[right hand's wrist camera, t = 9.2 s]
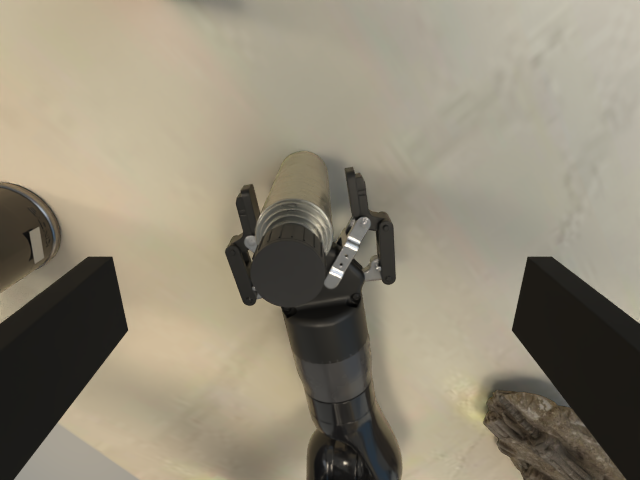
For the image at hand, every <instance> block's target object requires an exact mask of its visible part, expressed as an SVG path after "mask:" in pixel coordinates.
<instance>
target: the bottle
mask: <svg viewBox="0 0 640 480" xmlns="http://www.w3.org/2000/svg"><path fill="white" fill-rule="evenodd" d="M288 224H291V225H293V224H295V225H299V226H302V227H306V228H307V229H309V230H310V231H312V232H313V233H314V234H316V236H317V237H318V238H319V240H320V241H321V242H322V243H323V248H324V252H326V255H327V254H328V252H329V250H330V248H331V246H332V242H333V227H332V215H331V203H330V192H329V180H328V171H327V167H326V165H325V163H324V162H323V160H322V159H321V158H320V157H319V156H317V155H316V154H314V153H311V152H307V151H299V152H295V153H293V154H291V155H289V156H288V157H287V158H286V159H285V160H284V161H283V163H282V165H281V167H280V169H279V172H278V174H277V176H276V179H275V181H274V183H273V186H272V188H271V190H270V193H269V195H268V197H267V200H266V202H265V204H264V207H263V209H262V211H261V214H260V216H259V218H258V221H257V223H256V227H255V239H256V244H257V245H259V243H260V241H261V238H262V236H264V235H265V234H266V233H267V232H268V231H270V230H271V229H273V228H275V227H278V226H281V225H288Z"/></svg>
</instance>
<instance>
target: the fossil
mask: <svg viewBox="0 0 640 480" xmlns="http://www.w3.org/2000/svg"><path fill="white" fill-rule="evenodd" d="M487 406H488V408H489V411H488V413H487V415H486V417H485V419H484V421H483V423H484V424H485V426H486V427H487V428H488V429H489V430H490V431H491V432H492V433H493V434H494V435H495V436H496V437H498V438H499V441H498V442H497V445H498V448H499V450H500V451H501V452H502V453H504V454H505V455H507V456H509V457H511V460H512V461H513V463H514V464H515V466H516V467H517V469H519V470H520V471H521V474H522V477H523V479H524V480H626V479H625V477H624V476H623V475H622V473H621V472H620V471H619V469H618V468H617V467H616V466H615V464H614V463H613V462H612V460H611V459H610V458H609V456H608V455H607V454H606V452H605V451H604V450H603V449H602V447H601V446H600V445H599V443H598V442H597V441H596V439H595V438H594V437H593V436H592V434H591V433H590V432H589V430H588V429H587V428H586V426H585V425H584V424H583V422H582V421H581V420H580V419H579V417H578V416H577V415H576V413H575V412H574V411H573V409H572V408H569V407H565V406H558V405H557V404H556V403H555V402H553V401H552V400H549V399H547V398H545V397H543V396H541V395H536V394H532V393H526V392H513V391H500V390H496V392H495V393H493V397H490V398H489V399H488V401H487Z"/></svg>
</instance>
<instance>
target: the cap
mask: <svg viewBox="0 0 640 480" xmlns="http://www.w3.org/2000/svg"><path fill="white" fill-rule="evenodd" d="M252 260H253V262H252V265H251V269H250V276H251V281H252V284H253V286H254V288H255V290H256V291H257V293H258V294H259V295H260V296H261V297H262V298H263V299H265V300H266V301H268V302H270V303H272V304H274V305H277V306H281V307H297V306H301V305H304V304H306V303H308V302H310V301H311V300H312V299H314V298H315V297H316V296H317V295H318V294H319V292H320V291H321V289H322V287H323V285H324V281H325V278H326V272H325V268H326V252H324V248H323V243H322V242H321V241H320V240H319V238H318V237H317V236H316V234H314V233H313V232H312V231H310V230H309V229H307V228H306V227H302V226H299V225H295V224H293V225H291V224H288V225H281V226H278V227H275V228H273V229H271V230H270V231H268V232H267V233H266V234H265V235H264V236H262V238H261V241H260V243H259V245H257V247H256V250H255V253H254V255H253V258H252Z"/></svg>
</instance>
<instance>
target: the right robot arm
mask: <svg viewBox="0 0 640 480" xmlns="http://www.w3.org/2000/svg"><path fill="white" fill-rule="evenodd" d="M127 331H128V327H127V323H126V318H125V313H124V309H123V304H122V299H121V295H120V290H119V285H118V281H117V276H116V271H115V267H114V262H113V257H87V258H86V259H85V260H83V261H82V262H81V263H79V264H78V265H77V266H75V267H74V268H73V269H71V270H70V271H69V272H68V273H66V274H65V275H64V276H62V277H61V278H60V279H58V280H57V281H56V282H54V283H53V284H52V285H50V286H49V287H48V288H47V289H45V290H44V291H43V292H41V293H40V294H39V295H37V296H36V297H35V298H33V299H32V300H31V301H30V302H28V303H27V304H26V305H24V306H23V307H22V308H20V309H19V310H18V311H16V312H15V313H14V314H12V315H11V316H10V317H9V318H7V319H6V320H5V321H3V322H2V323H1V324H0V480H14V479H15V477H16V476H17V475H18V473H19V472H20V471H21V469H22V468H23V467H24V466H25V464H26V463H27V462H28V460H29V459H30V458H31V456H32V455H33V454H34V452H35V451H36V450H37V449H38V447H39V446H40V445H41V443H42V442H43V441H44V439H45V438H46V437H47V435H48V434H49V433H50V432H51V430H52V429H53V428H54V426H55V425H56V424H57V422H58V421H59V420H60V419H61V417H62V416H63V415H64V413H65V412H66V411H67V409H68V408H69V407H70V405H71V404H72V403H73V402H74V400H75V399H76V398H77V396H78V395H79V394H80V392H81V391H82V390H83V389H84V387H85V386H86V385H87V383H88V382H89V381H90V379H91V378H92V377H93V375H94V374H95V373H96V372H97V370H98V369H99V368H100V366H101V365H102V364H103V362H104V361H105V360H106V358H107V357H108V356H109V355H110V353H111V352H112V351H113V349H114V348H115V347H116V345H117V344H118V343H119V342H120V340H121V339H122V338H123V336H124V335H125V334H126V332H127ZM512 331H513V332H514V334H515V335H516V336H517V338H518V339H519V340H520V342H521V343H522V344H523V345H524V347H525V348H526V349H527V351H528V352H529V353H530V355H531V356H532V357H533V358H534V360H535V361H536V362H537V364H538V365H539V366H540V368H541V369H542V370H543V372H544V373H545V374H546V375H547V377H548V378H549V379H550V381H551V382H552V383H553V385H554V386H555V387H556V389H557V390H558V391H559V392H560V394H561V395H562V396H563V398H564V399H565V400H566V402H567V403H568V404H569V405H570V407H571V408H572V409H573V411H574V412H575V413H576V415H577V416H578V417H579V419H580V420H581V421H582V422H583V424H584V425H585V426H586V428H587V429H588V430H589V432H590V433H591V434H592V436H593V437H594V438H595V439H596V441H597V442H598V443H599V445H600V446H601V447H602V449H603V450H604V451H605V452H606V454H607V455H608V456H609V458H610V459H611V460H612V462H613V463H614V464H615V466H616V467H617V468H618V469H619V471H620V472H621V473H622V475H623V476H624V477H625V479H626V480H640V324H639V323H638V322H637V321H635V320H634V319H633V318H631V317H630V316H629V315H627V314H626V313H625V312H624V311H622V310H621V309H620V308H618V307H617V306H616V305H614V304H613V303H612V302H610V301H609V300H608V299H607V298H605V297H604V296H603V295H601V294H600V293H599V292H597V291H596V290H595V289H593V288H592V287H591V286H590V285H588V284H587V283H586V282H584V281H583V280H582V279H580V278H579V277H578V276H576V275H575V274H574V273H572V272H571V271H570V270H569V269H567V268H566V267H565V266H563V265H562V264H561V263H559V262H558V261H557V260H555V259H554V258H553V257H527V262H526V267H525V271H524V276H523V281H522V285H521V290H520V295H519V299H518V304H517V309H516V313H515V318H514V323H513V327H512Z"/></svg>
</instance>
